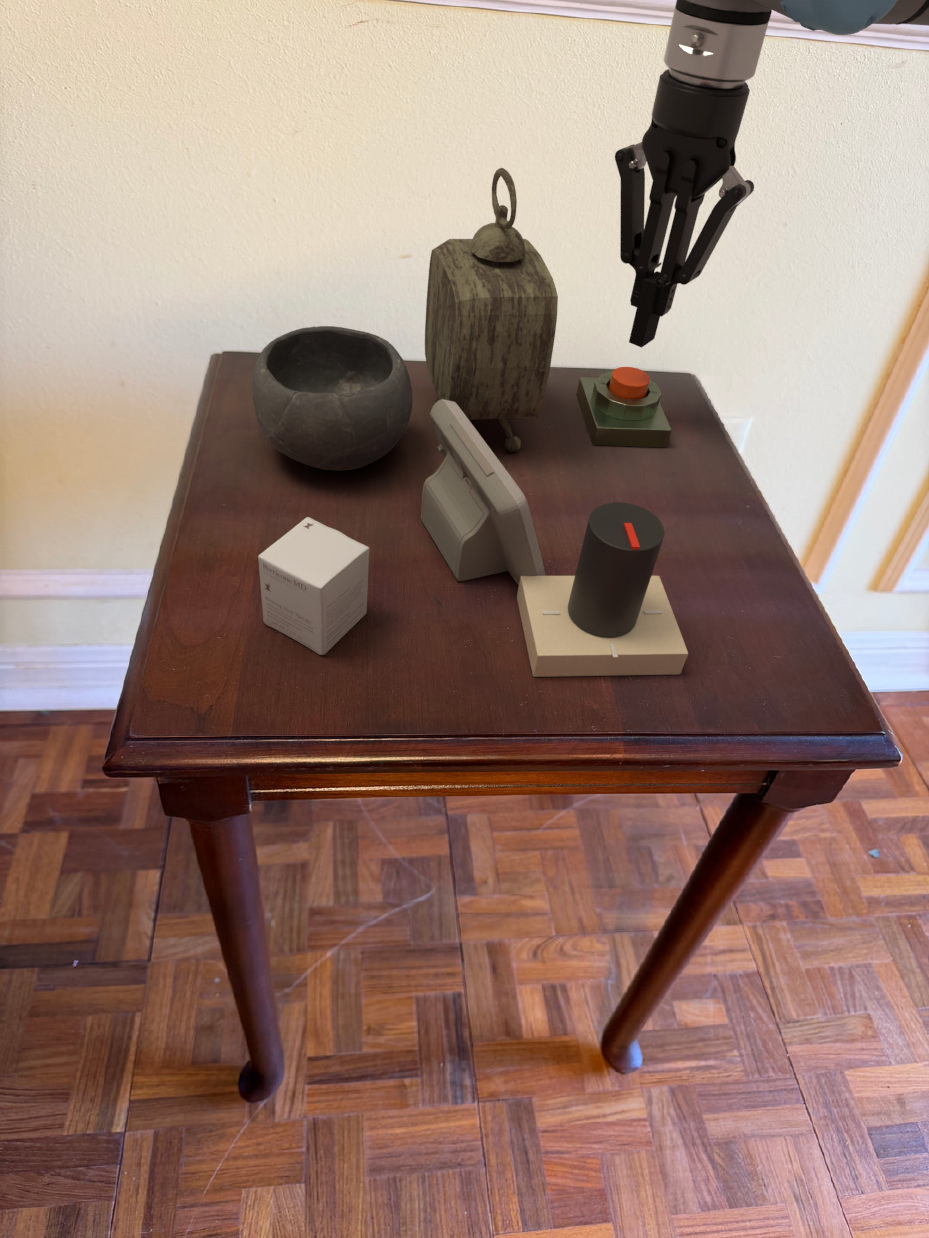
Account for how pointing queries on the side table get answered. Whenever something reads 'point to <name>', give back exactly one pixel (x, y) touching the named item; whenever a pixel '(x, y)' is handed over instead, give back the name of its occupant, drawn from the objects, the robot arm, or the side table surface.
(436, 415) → the digital clock
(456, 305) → the tabletop clock
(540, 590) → the dial panel
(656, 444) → the button block
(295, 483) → the side table surface
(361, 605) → the product box
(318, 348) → the bowl
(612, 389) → the push button
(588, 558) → the dial
